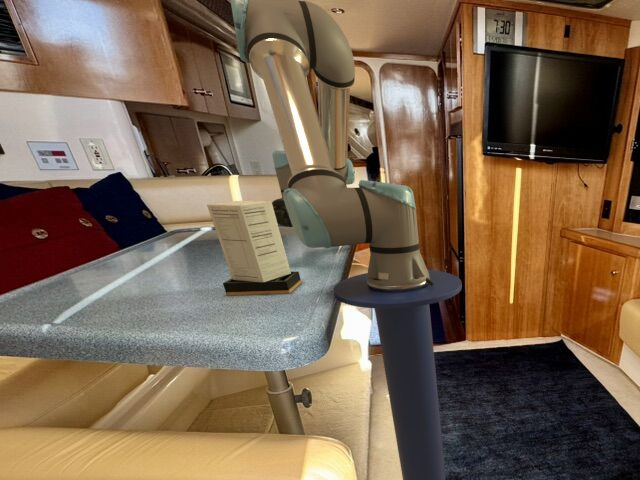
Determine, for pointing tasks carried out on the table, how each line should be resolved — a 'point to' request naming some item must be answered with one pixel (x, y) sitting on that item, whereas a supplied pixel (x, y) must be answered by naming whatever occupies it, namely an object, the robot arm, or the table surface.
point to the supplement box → (250, 240)
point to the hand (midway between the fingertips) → (259, 221)
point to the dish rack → (263, 286)
